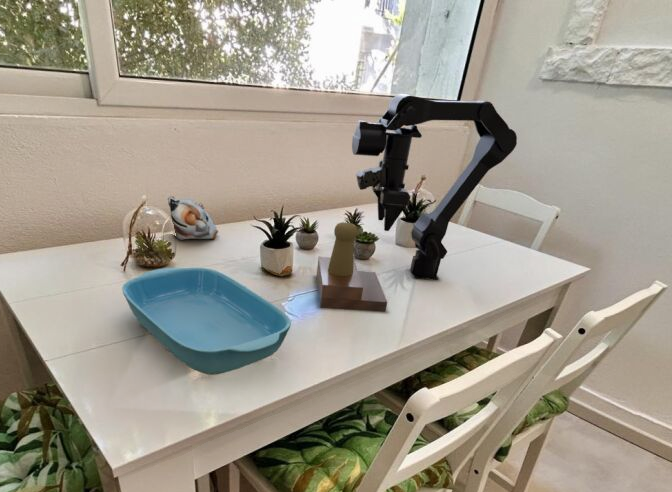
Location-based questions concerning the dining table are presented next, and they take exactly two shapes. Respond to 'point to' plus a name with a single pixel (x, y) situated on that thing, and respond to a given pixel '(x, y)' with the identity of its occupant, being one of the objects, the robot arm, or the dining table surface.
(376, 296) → the shelf
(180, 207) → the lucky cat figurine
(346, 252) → the olive green pawn
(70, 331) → the dining table surface
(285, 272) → the pastry
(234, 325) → the casserole dish
